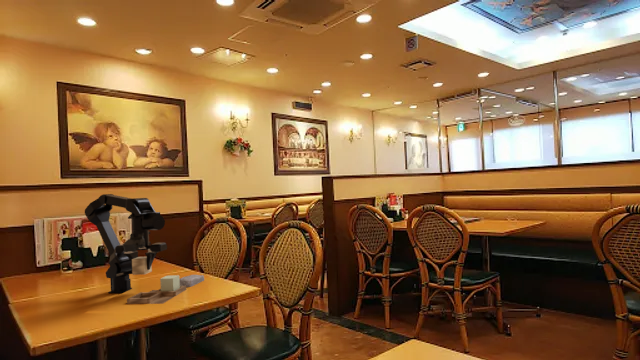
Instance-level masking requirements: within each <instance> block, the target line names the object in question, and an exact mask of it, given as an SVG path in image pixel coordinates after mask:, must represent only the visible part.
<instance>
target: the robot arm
mask: <svg viewBox="0 0 640 360" xmlns="http://www.w3.org/2000/svg"><path fill="white" fill-rule="evenodd" d="M113 206H114V207H119V208H123V209H125V210H126V211H127V212H129V213H130V215H129V216H127V219H129V220H131V230H132V233H130V235H129V239H127V240H126V241H125V242H124V243H122V244H121V242H120V241H119V238H118V236H117V235H116V233H115V230H114V228H113V227H112V225H111V222H110V216H111V211H112V209H113ZM84 215H85V217H86V219H87V220H88V221H89V222H90V223H91V224H92V225H94V226H95V227H96V229H97V231H98V233H99V235H100V237H101V239H102V241H103V244H104V245H105V247H106V249H107V252H108V253H109V261H108V265H109V267H108V268H107V269H106V272H105V277H106V279H110V290H109V291H108V292H107V293H108V294H123V293H126V292H128V291H130V290H133V287H132V286H131V281H132V280H131V278H130V275H133V274H132V259H134V258H137V257H139V251H147V252H145V253H144V254H145V257H147V270H150V268H151V265H153V262H154V260H155V257H156V256H157V254H158V253H161V252H163V251H166V250H168V245H167V243H166V242H155V243H152V242H151V241H150V236H149V235H151V231H160V230H162V229H163V228H164V227H165V225H166V224H165V223H166V220H165V217H163V215H161V212H160V211H157V212H156V210H155V208H154V207H153V205H152V204H151V202H150V200H149V198H148V197H138V198H135V197H133V198H131V197H127V196H120V195H116V194H112V193H107V194H106V193H104V194H101V195H100V196H99V197H98V198H96V199H95V200H93V201H92V202H90V203H89V204H88V205H87V206H86V208H85V209H84Z"/></svg>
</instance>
